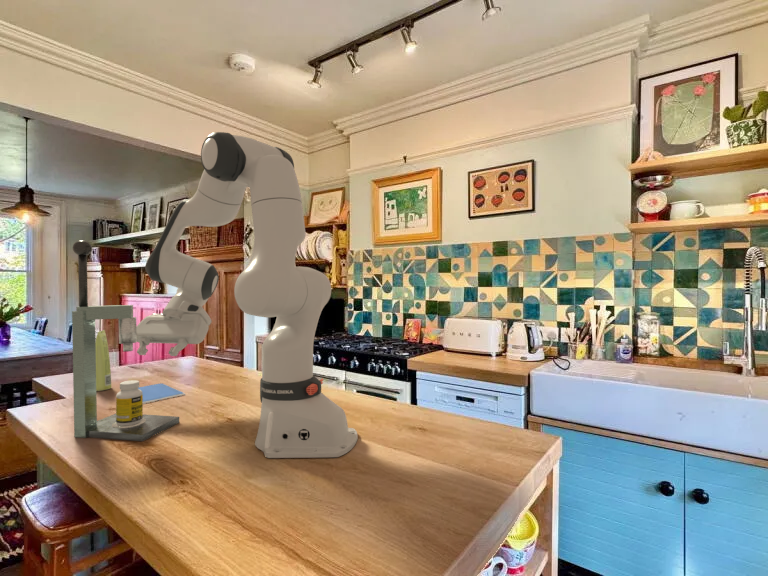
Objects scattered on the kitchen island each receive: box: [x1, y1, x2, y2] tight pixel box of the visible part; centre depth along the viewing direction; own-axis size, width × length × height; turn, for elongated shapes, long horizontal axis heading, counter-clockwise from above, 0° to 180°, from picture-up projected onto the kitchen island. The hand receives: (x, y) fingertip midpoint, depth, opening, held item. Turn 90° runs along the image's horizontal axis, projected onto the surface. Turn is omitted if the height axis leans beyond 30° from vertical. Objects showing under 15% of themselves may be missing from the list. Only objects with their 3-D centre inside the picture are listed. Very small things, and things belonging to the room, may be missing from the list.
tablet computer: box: [138, 382, 186, 405], centre depth 127 cm, size 19×13×1 cm, turn 49°
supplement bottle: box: [115, 379, 144, 426], centre depth 96 cm, size 5×5×10 cm
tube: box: [95, 329, 112, 392], centre depth 133 cm, size 6×5×20 cm
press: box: [71, 240, 180, 442], centre depth 96 cm, size 18×13×45 cm
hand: (156, 354), depth 105 cm, fingers open, 8 cm apart
